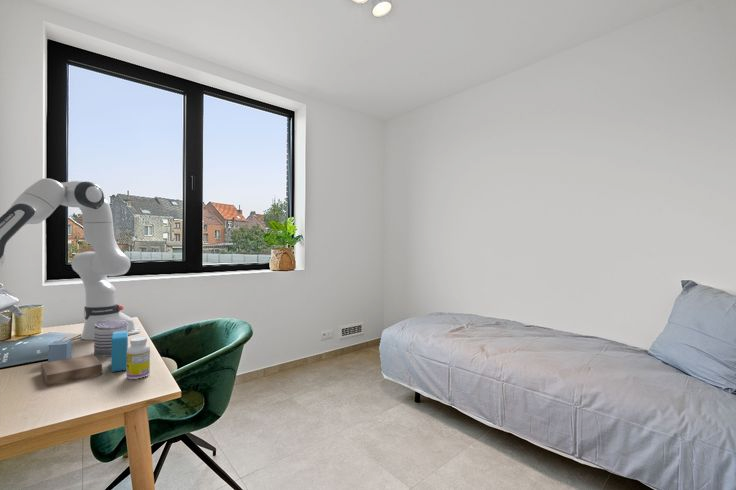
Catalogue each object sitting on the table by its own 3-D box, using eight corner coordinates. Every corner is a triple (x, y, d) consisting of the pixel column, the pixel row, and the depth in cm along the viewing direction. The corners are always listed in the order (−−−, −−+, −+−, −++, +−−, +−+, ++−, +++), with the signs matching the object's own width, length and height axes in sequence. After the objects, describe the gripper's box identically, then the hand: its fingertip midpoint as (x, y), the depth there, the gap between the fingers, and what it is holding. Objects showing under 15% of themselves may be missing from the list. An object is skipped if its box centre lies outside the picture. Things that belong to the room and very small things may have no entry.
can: (118, 345, 150) (118, 317, 150) (134, 350, 145) (135, 321, 145) (87, 353, 140) (87, 323, 140) (104, 358, 135) (104, 327, 135)
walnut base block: (92, 364, 129) (93, 354, 129) (102, 375, 120) (102, 364, 120) (41, 375, 119) (41, 363, 119) (46, 388, 110) (46, 375, 109)
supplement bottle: (128, 373, 121) (129, 336, 121) (151, 371, 124) (151, 335, 123) (124, 381, 115) (124, 342, 115) (147, 378, 118) (148, 340, 117)
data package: (112, 362, 131) (113, 330, 131) (127, 360, 133) (127, 329, 133) (111, 373, 121) (111, 339, 121) (127, 371, 123) (127, 337, 123)
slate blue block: (54, 361, 131) (54, 341, 130) (71, 359, 133) (71, 339, 133) (48, 366, 126) (48, 345, 126) (66, 364, 128) (66, 343, 128)
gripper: (-33, 289, 111) (8, 318, 115) (2, 281, 130) (36, 307, 134) (-53, 303, 109) (-11, 332, 113) (-15, 294, 128) (20, 319, 132)
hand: (15, 318), depth 124 cm, fingers open, 8 cm apart
